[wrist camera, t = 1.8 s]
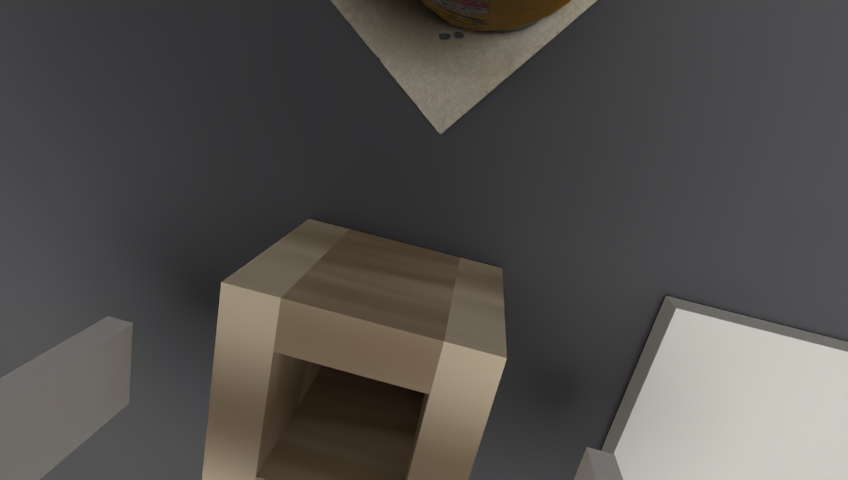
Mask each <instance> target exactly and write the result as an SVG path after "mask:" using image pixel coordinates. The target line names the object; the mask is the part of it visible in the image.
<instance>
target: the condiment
mask: <svg viewBox="0 0 848 480" xmlns="http://www.w3.org/2000/svg"><path fill="white" fill-rule="evenodd" d="M330 1H331V2H332V3H333V4H334V5H335V6H336V8H337V9H338V10H339V11H340V13H341V14H342V15H343V16H344V18H345V19H346V20H347V21H348V22H349V23H350V25H351V26H352V27H353V28H354V29H355V31H356V32H357V33H358V34H359V36H360V37H361V38H362V39H363V41H364V42H365V43H366V44H367V45H368V47H369V48H370V49H371V50H372V52H373V53H374V54H375V55H376V56H377V57H379V58H380V60H381V62H382V64H383V65H384V66H385V67H386V69H387V70H388V71H389V72H390V74H391V75H392V76H393V77H394V78H395V80H396V81H397V82H398V84H399V85H400V86H401V87H402V88H403V90H404V91H405V92H406V93H407V94H408V95H409V97H410V98H411V99H412V100H413V101H414V103H415V104H416V105H417V106H418V108H419V109H420V110H421V112H422V113H423V114H424V115H425V117H426V118H427V119H428V120H429V121H430V123H431V124H432V125H433V126H434V127H435V129H436V130H437V131H438V132H439V134H442V133H443V132H444V131H445V130H446V129H448V128H449V127H450V126H451V125H452V124H453V123H455V122H456V121H457V120H458V119H459V118H460V117H462V116H463V115H464V114H465V113H466V112H467V111H469V110H470V109H471V108H472V107H473V106H474V105H476V104H477V103H478V102H479V101H480V100H481V99H483V98H484V97H485V96H486V95H487V94H488V93H490V92H491V91H492V90H493V89H494V88H495V87H496V86H497V85H498V84H500V83H501V82H502V81H503V80H505V79H506V78H507V77H508V76H509V75H511V74H512V73H513V72H514V71H515V70H516V69H518V68H519V67H520V66H521V65H522V64H523V63H525V62H526V61H527V60H528V59H529V58H530V57H532V56H533V55H534V54H535V53H536V52H537V51H539V50H540V49H541V48H542V47H543V46H544V45H546V44H547V43H548V42H549V41H550V40H552V39H553V38H554V37H555V36H556V35H557V34H559V33H560V32H561V31H562V30H563V29H564V28H566V27H567V26H568V25H569V24H570V23H571V22H573V21H574V20H575V19H576V18H577V17H578V16H580V15H581V14H582V13H583V12H584V11H585V10H587V9H588V8H589V7H590V6H591V5H592V4H594V3H595V2H596V1H597V0H330ZM456 32H461V33H463V36H464V37H463V38H461V39H460V38H455V36H454V34H455V33H456ZM443 33H448V34H450V35H451V37H450V39H446V40H441V39H440V37H439V34H443Z"/></svg>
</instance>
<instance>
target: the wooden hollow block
mask: <svg viewBox="0 0 848 480" xmlns="http://www.w3.org/2000/svg"><path fill="white" fill-rule="evenodd" d="M506 360H507V349H506V330H505V311H504V293H503V274H502V268H500V267H496V266H492V265H488V264H484V263H480V262H477V261H473V260H469V259H465V258H461V257H457V256H453V255H449V254H445V253H441V252H437V251H434V250H430V249H426V248H422V247H418V246H414V245H410V244H406V243H402V242H398V241H394V240H391V239H387V238H383V237H379V236H375V235H371V234H367V233H363V232H359V231H355V230H351V229H348V228H344V227H340V226H336V225H332V224H328V223H324V222H320V221H316V220H312V219H308V220H307V221H305V222H304V223H303V224H301V225H300V226H298V227H297V228H296V229H294V230H293V231H291V232H290V233H289V234H287V235H286V236H284V237H283V238H282V239H280V240H279V241H278V242H276V243H275V244H273V245H272V246H271V247H269V248H268V249H266V250H265V251H264V252H262V253H261V254H259V255H258V256H257V257H255V258H254V259H253V260H251V261H250V262H248V263H247V264H246V265H244V266H243V267H241V268H240V269H239V270H237V271H236V272H235V273H233V274H232V275H230V276H229V277H228V278H226V279H225V280H223V281H222V282H221V289H220V300H219V310H218V320H217V331H216V341H215V351H214V362H213V372H212V382H211V393H210V403H209V413H208V424H207V434H206V444H205V454H204V465H203V475H202V480H468V479H469V476H470V473H471V470H472V467H473V464H474V460H475V457H476V454H477V451H478V448H479V445H480V442H481V438H482V435H483V432H484V429H485V426H486V423H487V420H488V416H489V413H490V410H491V407H492V404H493V401H494V398H495V394H496V391H497V388H498V385H499V382H500V379H501V376H502V372H503V369H504V366H505V363H506Z"/></svg>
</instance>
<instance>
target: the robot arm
mask: <svg viewBox="0 0 848 480" xmlns="http://www.w3.org/2000/svg"><path fill="white" fill-rule="evenodd" d="M132 331H133V323H131V322H128V321H124V320H120V319H117V318H113V317H109V316H107V317H105V318H104V319H102V320H100V321H99V322H97V323H95V324H93V325H92V326H90V327H88V328H86V329H85V330H83V331H81V332H80V333H78V334H76V335H74V336H73V337H71V338H69V339H67V340H66V341H64V342H62V343H60V344H59V345H57V346H55V347H54V348H52V349H50V350H48V351H47V352H45V353H43V354H41V355H40V356H38V357H36V358H35V359H33V360H31V361H29V362H28V363H26V364H24V365H22V366H21V367H19V368H17V369H15V370H14V371H12V372H10V373H9V374H7V375H5V376H3V377H2V378H0V480H40V479H41V478H42V477H43V476H44V475H45V474H47V473H48V472H49V471H50V470H51V469H52V468H54V467H55V466H56V465H57V464H58V463H59V462H61V461H62V460H63V459H64V458H65V457H67V456H68V455H69V454H70V453H71V452H72V451H74V450H75V449H76V448H77V447H78V446H79V445H81V444H82V443H83V442H84V441H85V440H86V439H88V438H89V437H90V436H91V435H92V434H93V433H95V432H96V431H97V430H98V429H99V428H100V427H102V426H103V425H104V424H105V423H106V422H108V421H109V420H110V419H111V418H112V417H113V416H115V415H116V414H117V413H118V412H119V411H120V410H122V409H123V408H124V407H125V406H126V405H127V404H129V393H130V373H131V352H132ZM574 480H623V477H622V474H621V472H620V469H619V466H618V463H617V460H616V457H615V455H614V454H611V453H607V452H603V451H600V450H596V449H592V448H589V447H586V450H585V452H584V455H583V457H582V460H581V462H580V465H579V467H578V470H577V472H576V475H575V477H574Z"/></svg>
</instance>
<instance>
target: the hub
mask: <svg viewBox="0 0 848 480" xmlns="http://www.w3.org/2000/svg"><path fill="white" fill-rule="evenodd" d="M601 451H603V452H607V453H611V454H614V455H615V457H616V460H617V463H618V466H619V469H620V472H621V474H622V477H623V480H848V342H847V341H843V340H839V339H835V338H831V337H827V336H823V335H819V334H815V333H811V332H807V331H803V330H799V329H795V328H792V327H788V326H784V325H780V324H776V323H772V322H768V321H764V320H760V319H756V318H752V317H748V316H744V315H740V314H736V313H733V312H729V311H725V310H721V309H717V308H713V307H709V306H705V305H701V304H697V303H693V302H689V301H685V300H681V299H677V298H674V297H670V296H665V299H664V301H663V303H662V306H661V308H660V311H659V313H658V315H657V318H656V320H655V322H654V325H653V327H652V330H651V332H650V334H649V337H648V339H647V342H646V344H645V346H644V349H643V351H642V354H641V356H640V358H639V361H638V363H637V365H636V368H635V370H634V373H633V375H632V377H631V380H630V382H629V385H628V387H627V389H626V392H625V394H624V397H623V399H622V401H621V404H620V406H619V409H618V411H617V413H616V416H615V418H614V420H613V423H612V425H611V428H610V430H609V432H608V435H607V437H606V440H605V442H604V444H603V447H602V449H601Z"/></svg>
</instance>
